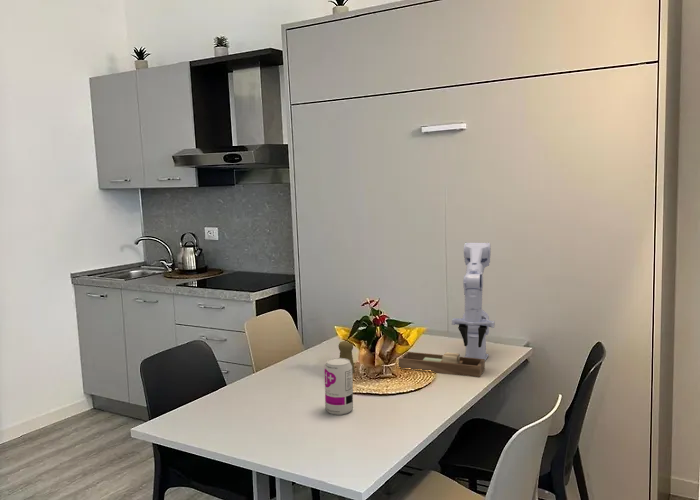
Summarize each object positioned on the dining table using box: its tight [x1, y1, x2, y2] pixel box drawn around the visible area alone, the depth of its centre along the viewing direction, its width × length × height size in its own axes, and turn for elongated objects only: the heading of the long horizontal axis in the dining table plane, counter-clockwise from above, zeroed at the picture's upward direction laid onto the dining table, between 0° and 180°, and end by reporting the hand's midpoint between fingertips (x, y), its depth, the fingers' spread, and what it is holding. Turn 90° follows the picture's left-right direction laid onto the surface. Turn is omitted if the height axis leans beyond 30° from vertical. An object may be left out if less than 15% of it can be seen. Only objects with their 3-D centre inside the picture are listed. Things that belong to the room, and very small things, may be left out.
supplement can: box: [324, 357, 354, 416], centre depth 185 cm, size 8×8×15 cm
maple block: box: [442, 351, 461, 364], centre depth 220 cm, size 5×5×3 cm
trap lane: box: [398, 351, 486, 378], centre depth 222 cm, size 9×29×4 cm, turn 67°
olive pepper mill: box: [338, 340, 356, 375], centre depth 221 cm, size 6×6×11 cm
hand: (472, 346), depth 217 cm, fingers open, 4 cm apart
